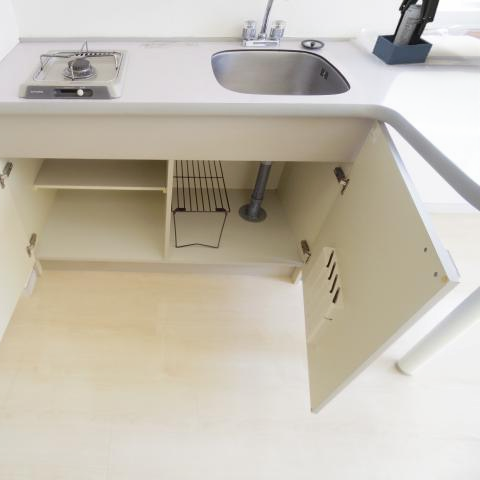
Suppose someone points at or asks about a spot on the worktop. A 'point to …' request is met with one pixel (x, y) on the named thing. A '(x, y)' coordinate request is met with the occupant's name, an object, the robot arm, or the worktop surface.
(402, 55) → the bin
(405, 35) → the energy drink can
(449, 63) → the worktop surface
